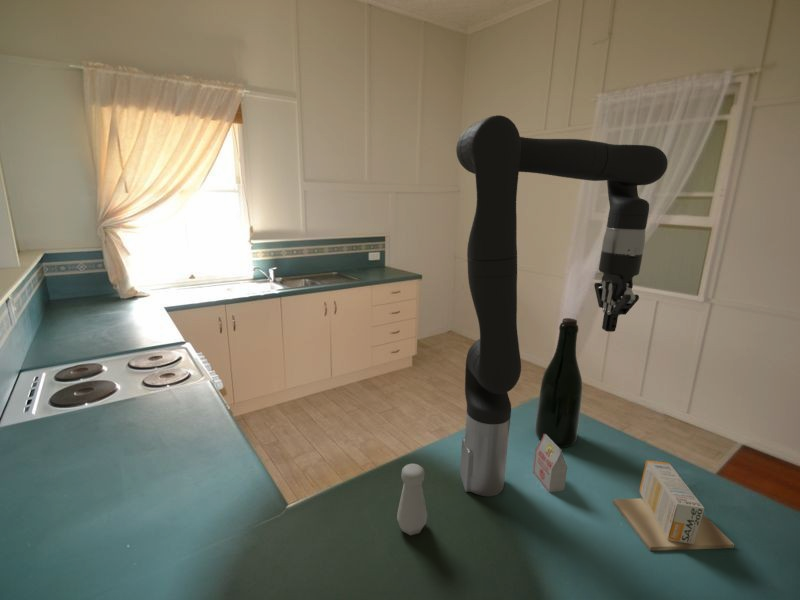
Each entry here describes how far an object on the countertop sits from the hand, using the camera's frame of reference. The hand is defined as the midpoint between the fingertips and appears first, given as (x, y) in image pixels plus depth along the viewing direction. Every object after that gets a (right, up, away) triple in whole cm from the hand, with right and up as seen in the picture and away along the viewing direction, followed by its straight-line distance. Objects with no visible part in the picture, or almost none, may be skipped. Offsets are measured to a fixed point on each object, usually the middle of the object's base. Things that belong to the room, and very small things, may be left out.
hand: (608, 330), depth 87 cm
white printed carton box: (-12, -35, +4) cm, 37 cm away
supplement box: (+9, -31, -1) cm, 32 cm away
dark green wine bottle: (-3, -30, +21) cm, 37 cm away
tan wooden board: (+8, -38, -8) cm, 39 cm away
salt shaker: (-43, -37, -9) cm, 58 cm away
